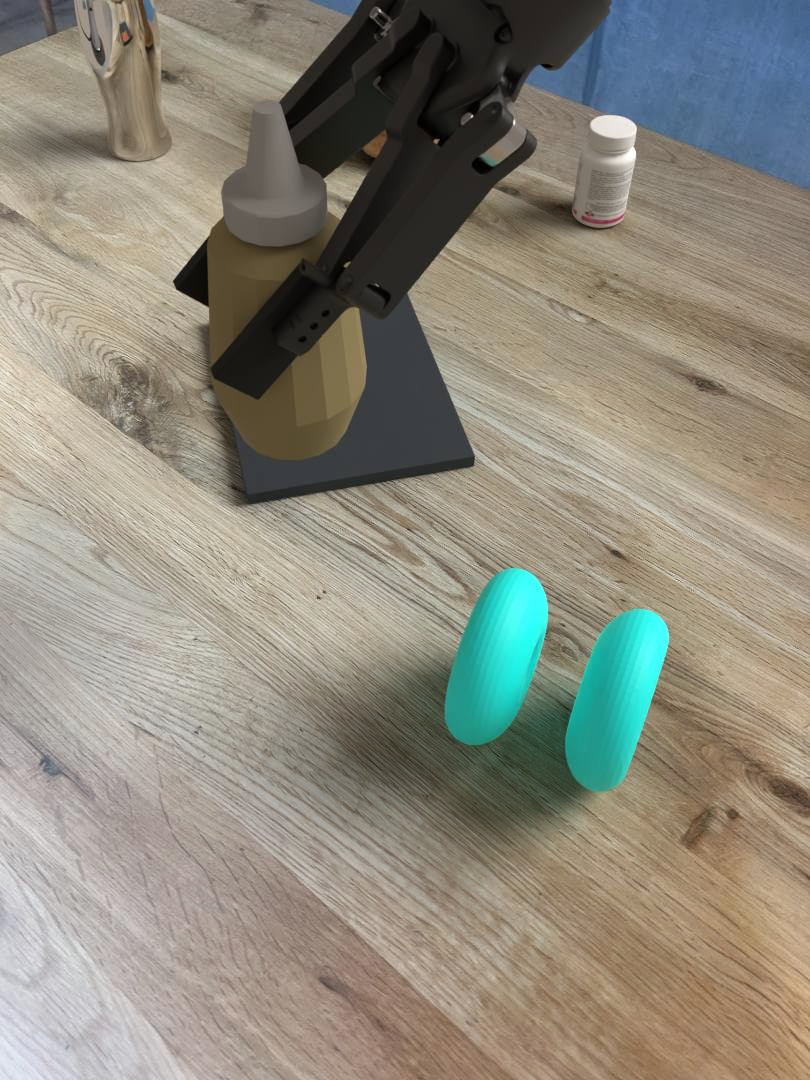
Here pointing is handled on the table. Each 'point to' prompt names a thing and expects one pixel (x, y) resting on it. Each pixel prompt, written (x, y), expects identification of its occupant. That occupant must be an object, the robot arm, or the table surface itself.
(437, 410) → the mat
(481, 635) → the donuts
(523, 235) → the table surface
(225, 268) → the squeeze bottle
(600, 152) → the pill bottle
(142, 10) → the chrome sculpted vase
